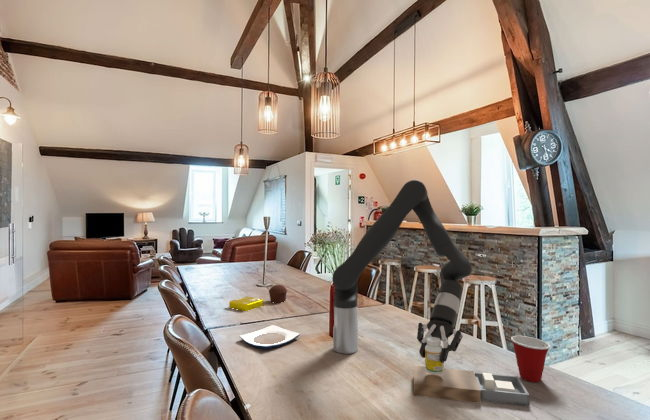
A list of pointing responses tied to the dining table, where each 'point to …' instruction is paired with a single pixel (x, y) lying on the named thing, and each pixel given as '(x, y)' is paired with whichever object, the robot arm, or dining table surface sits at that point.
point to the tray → (503, 396)
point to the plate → (271, 329)
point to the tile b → (504, 386)
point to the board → (447, 385)
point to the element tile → (246, 303)
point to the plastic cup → (530, 357)
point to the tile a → (488, 381)
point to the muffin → (277, 293)
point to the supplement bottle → (433, 356)
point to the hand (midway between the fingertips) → (431, 358)
